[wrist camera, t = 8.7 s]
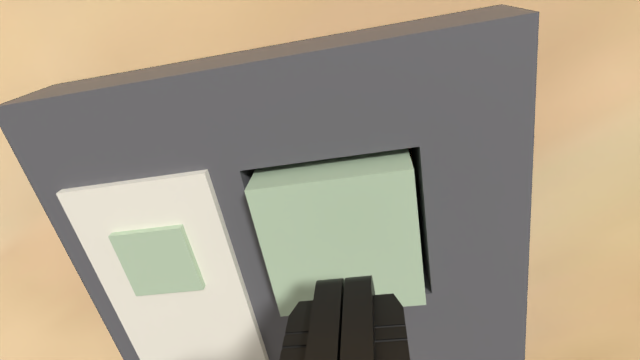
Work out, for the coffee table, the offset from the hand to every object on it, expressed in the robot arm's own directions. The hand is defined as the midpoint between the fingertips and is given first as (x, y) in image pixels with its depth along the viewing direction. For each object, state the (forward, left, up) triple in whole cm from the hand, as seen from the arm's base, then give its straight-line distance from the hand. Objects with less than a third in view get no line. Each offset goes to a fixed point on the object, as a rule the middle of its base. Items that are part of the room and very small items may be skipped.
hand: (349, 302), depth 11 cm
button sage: (0, 0, -6) cm, 6 cm away
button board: (+2, +10, -6) cm, 12 cm away
